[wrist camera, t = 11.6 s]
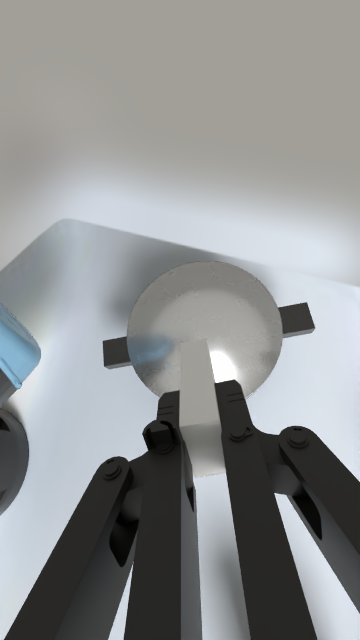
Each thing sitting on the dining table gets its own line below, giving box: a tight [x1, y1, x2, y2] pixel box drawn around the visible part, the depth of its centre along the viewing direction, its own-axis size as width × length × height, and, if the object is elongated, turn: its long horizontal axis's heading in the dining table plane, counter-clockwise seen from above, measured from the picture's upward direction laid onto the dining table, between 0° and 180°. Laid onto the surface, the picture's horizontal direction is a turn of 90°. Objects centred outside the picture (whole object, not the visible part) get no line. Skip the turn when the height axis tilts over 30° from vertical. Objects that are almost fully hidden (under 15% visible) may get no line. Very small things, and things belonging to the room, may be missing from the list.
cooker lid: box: [127, 261, 283, 399], centre depth 32 cm, size 16×17×1 cm
